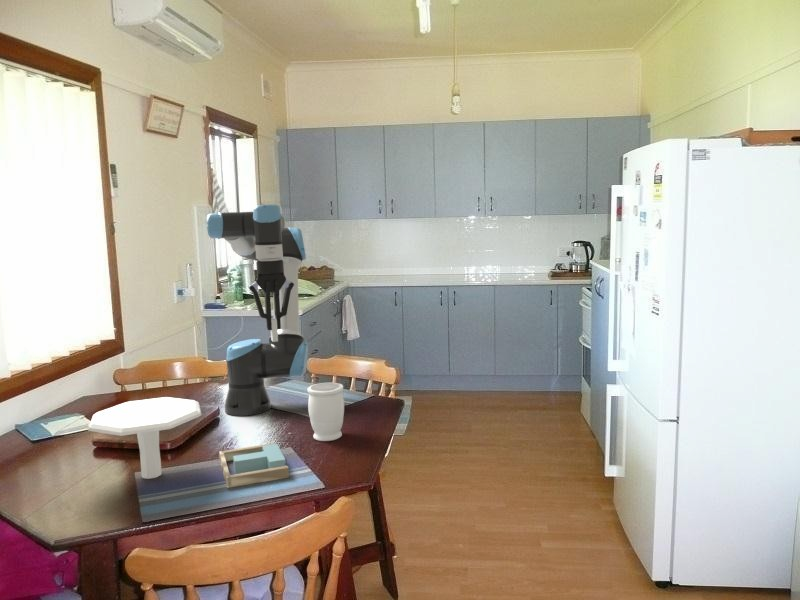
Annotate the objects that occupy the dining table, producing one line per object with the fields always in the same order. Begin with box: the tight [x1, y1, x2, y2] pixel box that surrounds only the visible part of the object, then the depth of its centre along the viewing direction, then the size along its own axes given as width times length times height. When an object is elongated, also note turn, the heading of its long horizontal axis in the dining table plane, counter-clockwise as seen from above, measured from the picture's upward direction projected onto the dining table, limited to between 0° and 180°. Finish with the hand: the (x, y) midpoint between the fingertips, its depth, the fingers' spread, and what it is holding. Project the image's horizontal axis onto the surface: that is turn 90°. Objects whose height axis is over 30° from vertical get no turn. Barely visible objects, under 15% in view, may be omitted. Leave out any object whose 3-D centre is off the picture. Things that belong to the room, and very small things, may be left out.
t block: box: [232, 443, 287, 474], centre depth 164 cm, size 12×12×4 cm
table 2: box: [87, 396, 202, 480], centre depth 161 cm, size 28×28×17 cm
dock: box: [218, 442, 290, 489], centre depth 164 cm, size 19×15×2 cm
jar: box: [306, 382, 345, 442], centre depth 185 cm, size 11×10×15 cm
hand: (274, 340), depth 184 cm, fingers closed
